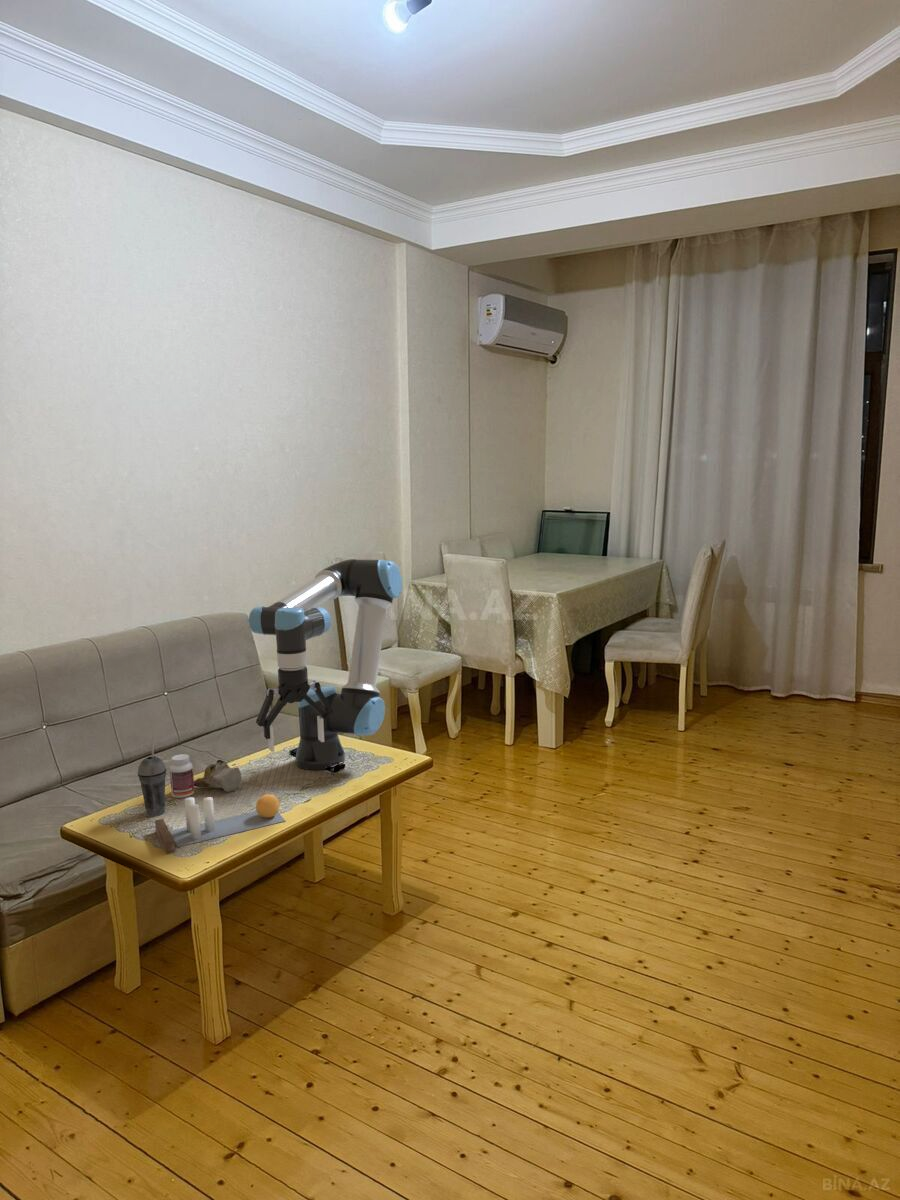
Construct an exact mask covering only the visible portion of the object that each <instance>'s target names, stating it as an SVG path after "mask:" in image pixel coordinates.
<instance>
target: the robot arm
mask: <svg viewBox="0 0 900 1200" xmlns="http://www.w3.org/2000/svg"><path fill="white" fill-rule="evenodd" d="M402 579H403V578H402V574H401V571H400V567H399V566H398V564H396V562H394V561H392V560H387V559H386V560H385V559H382V558H381V559H355V558H354V559H351V558H350V559H345V560H341V561H339V562H337V563H334V564H332V565H330V566H327V567H326V568H324V569H322V570H320V571H319V572H318V573H317V574H316V575H315V577H314V578H313V579H312V580H311V581H309V582H308V583H305V584H304V585H303V586H300V587H299V588H298V589H296V590H294V591H293V592H291V593H289V594H287V595H286V596H285V597H282V598H281V599H279V600H277V601H276V602H275V603H273V604H271V605H269V606H256V607H254V608H252V609H251V610H250V613H249V616H248V625H249V629H250V630H251V631H252V633H255V634H258V635H264V636H266V635H267V636H268V635H269V636H270V635H271V636H275V637H276V638H275V640H276V658H277V660H276V662H277V667H278V669H277V678H278V686H277V687H276V688H271V687H267V688H266V691H265V692H266V695H265V698H264V701H263V703H262V706H261V708H260V710H259V713H258V715H257V717H256V721H255V724H256V725H258V727H263V736H264V739H266V740H267V741H268V742H267V744H268V745H267V746H268V750H269V751H270V752H275V738H274V727H273V726H272V724H273V722H274V721H275V719H276V718H277V717H278V715H279V714H280V713H281V711H282V710H283V708H284V707H285V706H287V704H293V703H298V705H297V709H298V720H299V721H298V723H299V742H298V746H297V749H296V754H295V765H296V766H297V767H298V768H300V769H302V770H303V769H304V770H308V771H322V770H326V769H325V768H326V767H327V766H328V765H330V764H332V763H335V762H343V763H344V762H345V761H346V756H345V755H346V754H345V750H344V747H343V746H342V745H343V744H342V742H341V740H340V738H339V733H340V734H349V735H356V736H371V735H374V734H375V733H377V732H378V730H379V729H380V727H381V726H382V723H383V721H384V718H385V713H386V707H385V705H386V703H385V701H384V699H383V698H381V697H380V695H381V692H380V690H379V689H378V688H377V680H378V673H379V668H380V667H379V666H380V658H381V652H382V644H383V637H384V630H385V625H386V624H385V623H386V615H387V610H388V609H389V608H390V607H392V605H393V602H394V600H395V599H396V598H399V597H400V594H401V593H402V590H403V589H402V587H403V580H402ZM338 597H355V598H354V600H355V602H356V603H357V605H358V610H357V615H356V616H357V617H356V622H355V623H356V624H355V631H354V637H353V644H352V650H351V651H352V652H351V658H350V665H349V671H348V672H349V673H348V678H347V682H346V684H345V685H343V686H342V687H341V693H337V691H338V690H337V688H336V687H334V686H332V685H331V686H330V685H329V686H328V685H327V686H321V683H320V682H318V681H317V680H313V681H312V682H310V683H309V677H308V676H309V674H308V668H307V665H308V659H307V658H308V656H307V643H306V641H307V640H311V639H313V638H315V637H320V636H322V635H323V634H325V633H326V632H327V631H329V630H330V628H331V625H332V618H331V615H330V613H329V611H327V609H325V608H324V607H319V606H321V605H322V604H324V603H325V602H327V601H328V600H329V601H331V600H336V599H337V598H338ZM277 694H278V695H279V697H278V699H277V702H276V703H275V705H274V706H273V707H272V709H271V710H270V708H271V706H272V704H273V701H274V698H275V697H276V696H277ZM269 711H270V712H269ZM268 712H269V713H268Z"/></svg>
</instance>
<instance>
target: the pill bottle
mask: <svg viewBox="0 0 900 1200" xmlns="http://www.w3.org/2000/svg"><path fill="white" fill-rule="evenodd" d="M169 778H170V788H171V796H172V797H173V798H175V799H186V798H188V797H192V795H194V793H195V786H194V781H195V779H194V778H195V777H194V768H193V763H192V762H190V755H188V754H187V753H185V754H182V753H180V754H175V755H174V756H172V757H171V765H170V766H169Z"/></svg>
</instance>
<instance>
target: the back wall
mask: <svg viewBox="0 0 900 1200" xmlns="http://www.w3.org/2000/svg"><path fill="white" fill-rule="evenodd" d="M154 829H155V833H156V835H157V837H158V840H159V842H160V844H161V846H162V848H163V851H164V852H165V854H166V855H168V854H171V853H175V852H176V851H175V849H176V848H175V841H174V839H173V837H172V835H171V833H170V831H171V830H170V829H169V828H168V825H167V824H166V821H165V820H164V818H160V819H156V820H154Z"/></svg>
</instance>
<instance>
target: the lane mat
mask: <svg viewBox="0 0 900 1200" xmlns="http://www.w3.org/2000/svg"><path fill="white" fill-rule="evenodd" d="M214 820H215V819H214ZM285 822H286V820H285V818H284V817H283V816H282V815H281V814H280V813H279V811H278V812H277V814H276V815H275V816H273V817H271V818H263V817H261V816H260V815H259V814H258V813H257V811H256V810H255V811H251V812H246V813H243V814H238V815H234V816H233V815H232V816H229V817H225V818H220V819H217V820H215V831H213V832H206V831H205V822H203V823H200V826H201V838H200V839H198V840H192V839H191V832H187V826H185V827H182V828H177V829H172V830H169V831H170V833H171V835H172V837H173V839H174V844H175V845H176V847H177V848H180V847H185V846H190V845H194V844H197V843H202V842H205V841H206V842H207V841H210V840H215V839H218V838H221V837H226V836H230V835H235V834H239V833H244V832H247V831H252V830H256V829H259V828H264V827H269V826H272V825H276V824H281V823H285Z"/></svg>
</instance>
